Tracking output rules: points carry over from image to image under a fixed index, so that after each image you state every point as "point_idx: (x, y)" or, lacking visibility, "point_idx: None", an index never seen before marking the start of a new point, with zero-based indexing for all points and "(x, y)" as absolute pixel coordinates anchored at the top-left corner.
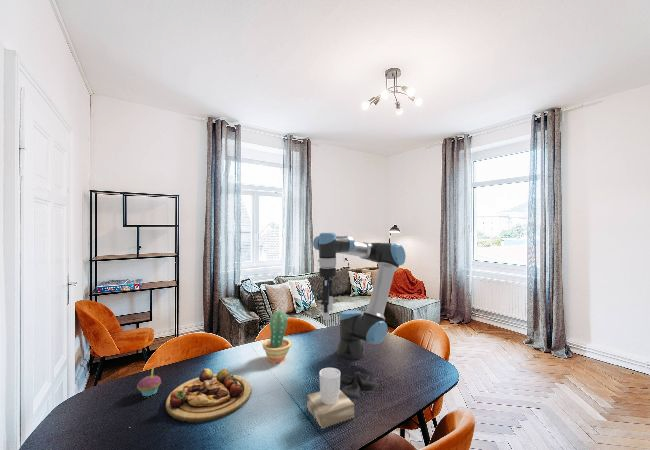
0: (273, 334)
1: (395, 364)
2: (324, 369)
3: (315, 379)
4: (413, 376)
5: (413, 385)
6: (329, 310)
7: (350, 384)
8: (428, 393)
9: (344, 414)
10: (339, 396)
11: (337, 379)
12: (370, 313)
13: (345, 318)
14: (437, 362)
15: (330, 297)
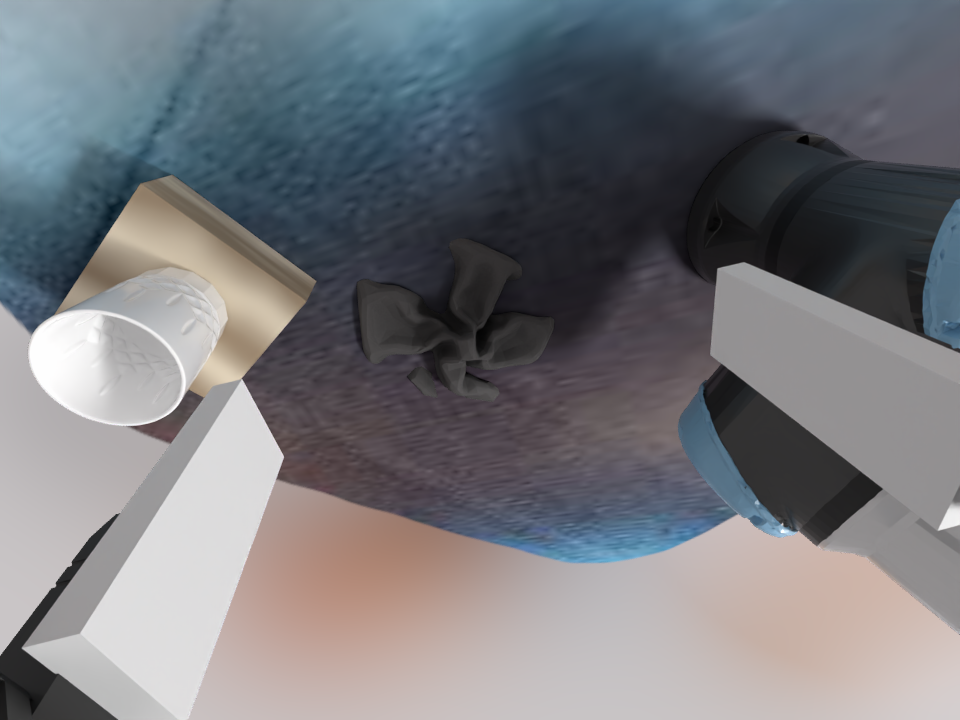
0: None
1: (661, 419)
2: (136, 322)
3: (435, 113)
4: (581, 481)
5: (521, 489)
6: (715, 309)
7: (448, 303)
8: (487, 526)
9: None
10: (232, 338)
11: (109, 412)
12: (858, 515)
13: (933, 265)
14: (691, 523)
15: (931, 475)
